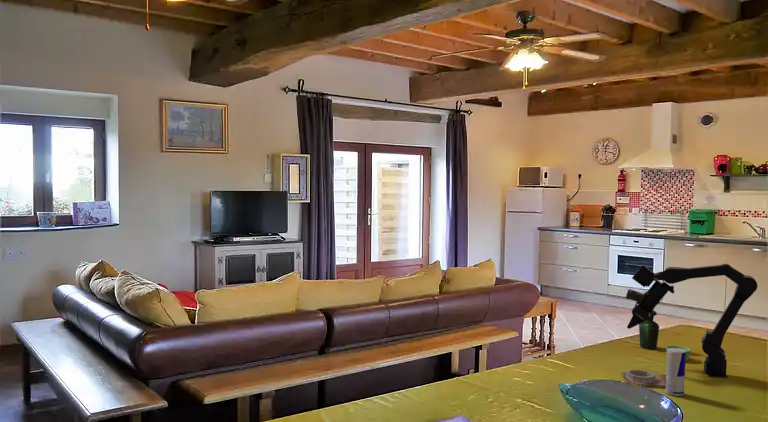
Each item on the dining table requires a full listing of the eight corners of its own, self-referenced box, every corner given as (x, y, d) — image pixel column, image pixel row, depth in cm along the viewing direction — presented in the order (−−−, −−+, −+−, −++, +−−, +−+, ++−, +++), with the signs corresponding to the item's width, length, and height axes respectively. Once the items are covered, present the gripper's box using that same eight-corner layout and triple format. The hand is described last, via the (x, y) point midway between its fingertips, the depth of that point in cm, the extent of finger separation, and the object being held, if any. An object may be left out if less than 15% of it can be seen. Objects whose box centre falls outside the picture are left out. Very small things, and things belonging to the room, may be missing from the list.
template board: (666, 377, 229) (667, 369, 229) (678, 389, 216) (679, 380, 216) (621, 374, 231) (621, 366, 231) (630, 386, 218) (630, 377, 218)
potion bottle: (646, 350, 265) (648, 308, 264) (633, 345, 273) (635, 304, 272) (662, 349, 267) (664, 307, 267) (649, 344, 275) (651, 303, 274)
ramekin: (694, 362, 249) (694, 351, 249) (671, 362, 249) (671, 351, 249) (683, 356, 258) (684, 345, 258) (661, 355, 258) (662, 345, 258)
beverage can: (681, 398, 207) (683, 352, 206) (663, 394, 210) (665, 349, 210) (685, 393, 212) (687, 349, 211) (667, 390, 215) (669, 346, 214)
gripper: (638, 278, 252) (614, 308, 257) (634, 285, 236) (608, 316, 240) (663, 296, 248) (638, 326, 253) (660, 304, 232) (633, 336, 236)
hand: (629, 325), depth 246 cm, fingers open, 9 cm apart
